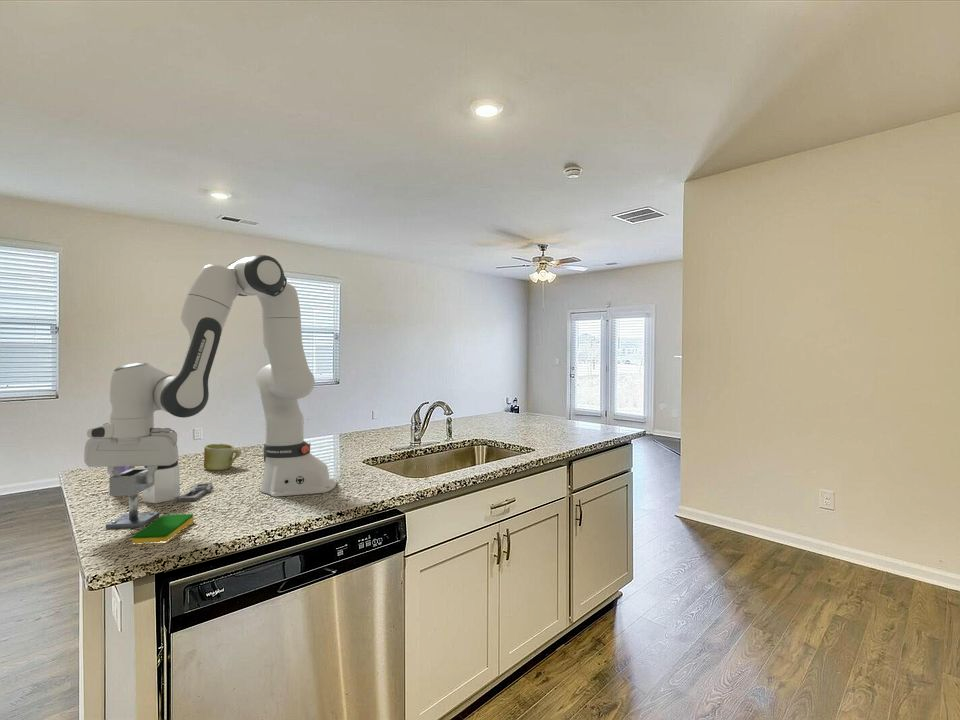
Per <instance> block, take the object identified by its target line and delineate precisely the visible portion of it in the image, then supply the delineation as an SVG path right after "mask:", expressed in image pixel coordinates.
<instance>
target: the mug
mask: <svg viewBox="0 0 960 720" xmlns="http://www.w3.org/2000/svg"><path fill="white" fill-rule="evenodd" d="M234 455H235V456H234ZM241 455H242V450H241V449H239V448H234V446H233V445H231V444H226V443H218V444H217V443H211V444H206V445H205V446H204V452H203V468H204V469H205V470H206V471H225V470H228V469H229V468H230V469H231V467H232V465H233V463H234V461H235V460H237V458H239V457H240V456H241Z"/></svg>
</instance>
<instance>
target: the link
mask: <svg viewBox="0 0 960 720" xmlns="http://www.w3.org/2000/svg"><path fill="white" fill-rule="evenodd" d="M148 472H149V470H147V468H144V467H137V468H136V467H135V468H132V469H129V470H127V471H124V472H122V473H120V474H117V475H115V476H112V477H110V476H109V484H108V485H109V497H115V496H116V497H119V496H122V497H123V496H125V497H126V496H128V497H129V495H136V494H137V493H138V494H139V493H142V492H143V490H145V489H147V488H149V487H151V486H153V485H154V474H153V481H152V483H150V484H143V483H142V481H143V480H142V477H144V476H146V475H147V474H148Z"/></svg>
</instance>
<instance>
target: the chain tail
mask: <svg viewBox="0 0 960 720" xmlns="http://www.w3.org/2000/svg"><path fill="white" fill-rule="evenodd" d="M212 487H213V482H204V483H195V484H193V486H192V489H189V490H188V491H186V492H184V493H183V494H182V495H179V496H178V497H177V498H176V501H177V502H195V501H197V500H199V499H200V498H202V497H203V496H204V495H207V494H210V493H211V490H212ZM192 495H193V496H192Z"/></svg>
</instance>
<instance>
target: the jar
mask: <svg viewBox="0 0 960 720" xmlns="http://www.w3.org/2000/svg"><path fill="white" fill-rule="evenodd" d="M143 468H147V466H143ZM180 475H181V474H180V464H179V459H178V460H177V461H176V462H175V463H174V464H172V465H169V466H157V470H156V471H155V473H154V485H153V486H151V487H149V488H147V489H145V490H143V491H142V502H143V503H150V504H159V503H160V504H161V503H165V502H171V501H174V500H175V499H177V498H178V497H179V496H181V495H180V493H181V491H180V489H181V488H180V481H181V480H180Z"/></svg>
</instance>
